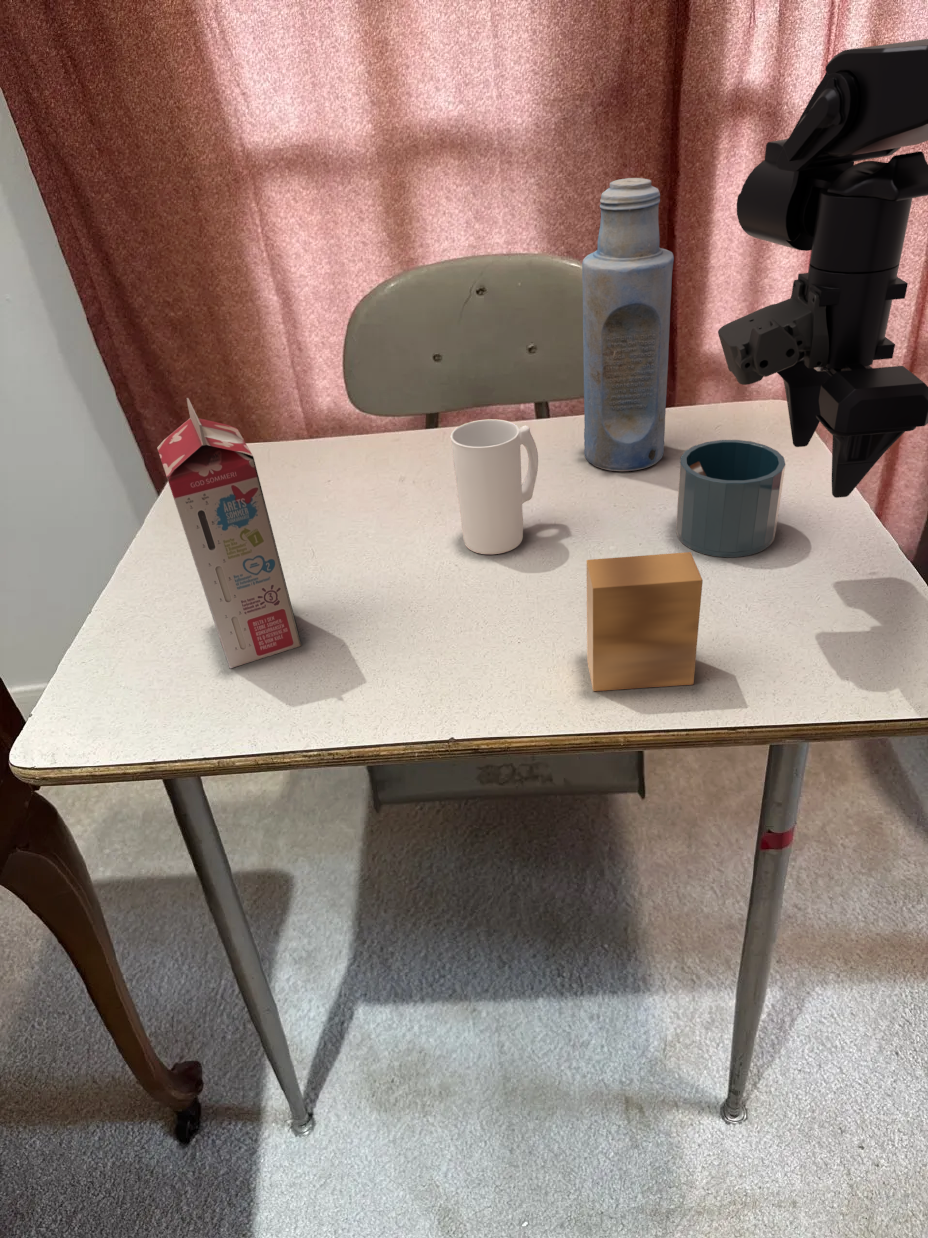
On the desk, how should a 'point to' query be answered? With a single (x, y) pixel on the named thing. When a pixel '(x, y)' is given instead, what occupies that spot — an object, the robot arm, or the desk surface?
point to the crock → (729, 497)
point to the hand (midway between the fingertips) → (818, 469)
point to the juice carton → (230, 538)
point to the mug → (492, 482)
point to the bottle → (626, 331)
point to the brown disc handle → (697, 468)
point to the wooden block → (642, 621)
